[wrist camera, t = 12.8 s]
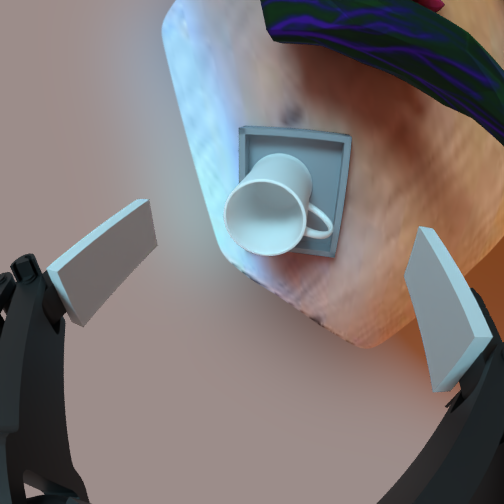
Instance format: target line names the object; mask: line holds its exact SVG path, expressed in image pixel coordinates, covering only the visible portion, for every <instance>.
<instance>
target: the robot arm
mask: <svg viewBox="0 0 504 504" xmlns="http://www.w3.org/2000/svg"><path fill="white" fill-rule="evenodd" d="M156 246H157V240H156V235H155V230H154V224H153V219H152V213H151V208H150V201H149V199H137V200H135V201H134V202H133V203H131V204H130V205H128V206H127V207H125V208H124V209H122V210H121V211H119V212H118V213H117V214H115V215H114V216H112V217H111V218H110V219H108V220H107V221H105V222H104V223H103V224H101V225H100V226H99V227H97V228H96V229H95V230H93V231H92V232H91V233H89V234H88V235H87V236H85V237H84V238H83V239H81V240H80V241H79V242H78V243H76V244H75V245H74V246H73V247H71V248H70V249H69V250H68V251H67V252H65V253H64V254H63V255H62V256H60V257H59V258H58V259H57V260H56V261H54V262H53V263H52V264H51V265H50V266H49V267H48V268H47V270H46V271H45V272H44V273H43V274H42V273H41V270H40V268H39V265H38V263H37V260H36V258H35V256H34V255H33V254H26V255H23V256H21V257H19V258H18V259H17V260H15V261H14V262H13V263H12V264H11V266H10V267H11V270H12V272H13V274H14V276H15V278H16V280H17V282H15V280H14V278H13V275H12V274H11V273H10V272H7V273H2V274H0V313H1V311H2V310H4V312H5V313H6V315H7V316H6V320H5V321H4V319H3V317H2V316H1V314H0V504H90V503H89V499H88V496H87V492H86V488H85V485H84V483H83V481H82V479H81V477H80V476H79V474H78V473H77V472H76V470H75V469H74V467H73V464H72V461H71V455H70V449H69V442H68V434H67V426H66V416H65V401H64V377H63V376H64V375H63V374H64V368H63V367H64V338H65V337H64V336H65V319H64V318H63V315H64V314H65V313H66V312H67V313H68V315H69V317H70V319H71V321H72V322H73V323H75V324H77V325H80V326H82V327H84V326H85V325H86V323H87V322H88V321H89V320H90V319H91V317H92V316H93V315H94V314H95V313H96V311H97V310H98V309H99V308H100V307H101V306H102V305H103V304H104V302H105V301H106V300H107V299H108V298H109V297H110V295H112V293H113V292H114V291H115V290H116V289H117V288H118V287H119V286H120V285H121V283H122V282H123V281H124V280H125V279H126V278H127V277H128V276H129V275H130V274H131V273H132V272H133V270H134V269H135V268H136V267H137V266H138V265H139V264H140V263H141V262H142V261H143V260H144V259H145V258H146V257H147V256H148V255H149V254H150V253H151V252H152V251H153V250H154V249H155V248H156ZM404 278H405V281H406V284H407V287H408V290H409V294H410V297H411V300H412V303H413V307H414V310H415V314H416V317H417V321H418V325H419V329H420V332H421V336H422V341H423V345H424V349H425V354H426V358H427V363H428V368H429V373H430V378H431V384H432V390H433V392H445V391H451V390H452V389H453V387H454V386H455V385H456V384H457V383H458V382H459V383H460V387H461V390H460V391H459V392H458V393H457V394H456V395H455V397H454V398H453V399H452V400H451V401H450V402H449V403H448V404H447V405H446V406H445V407H447V408H448V407H449V406H450V407H449V409H448V411H447V412H446V414H445V416H444V417H443V419H442V421H441V422H440V424H439V425H438V427H437V429H436V431H435V432H434V433H433V435H432V436H431V438H430V439H429V441H428V442H427V444H426V445H425V447H424V448H423V449H422V451H421V452H420V454H419V455H418V456H417V458H416V459H415V460H414V462H413V463H412V464H411V465H410V467H409V468H408V469H407V470H406V472H405V473H404V474H403V475H402V476H401V478H400V479H399V480H398V481H397V482H396V483H395V484H394V486H393V487H392V488H391V489H390V490H389V491H388V492H387V493H386V494H385V495H384V496H383V498H382V499H381V500H380V501H379V502H378V503H377V504H504V342H502V340H501V338H500V335H499V333H498V331H497V329H496V326H495V324H494V322H493V320H492V318H491V316H489V312H488V310H487V308H486V306H485V304H484V302H483V300H482V298H481V296H480V295H479V294H478V293H477V292H476V291H475V290H474V289H473V288H469V286H468V284H467V282H466V281H465V279H464V277H463V275H462V274H461V272H460V270H459V268H458V267H457V265H456V263H455V262H454V260H453V258H452V257H451V255H450V254H449V252H448V250H447V249H446V247H445V246H444V244H443V243H442V241H441V240H440V238H439V237H438V235H437V234H436V232H435V231H434V229H433V228H427V227H421V226H419V228H418V232H417V235H416V239H415V242H414V246H413V249H412V252H411V256H410V259H409V262H408V265H407V268H406V271H405V274H404ZM24 483H26V484H28V485H30V486H32V487H34V488H37V489H39V490H41V491H42V492H43V493H44V494H45V495H40V496H35V497H31V498H26V495H25V489H24Z"/></svg>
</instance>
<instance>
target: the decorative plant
mask: <svg viewBox="0 0 504 504" xmlns="http://www.w3.org/2000/svg"><path fill="white" fill-rule="evenodd" d="M260 1H261V6H262V10H263V15H264V20H265V25H266V30H267V31H268V33H269V35H270V36H271V38H272V39H273V41H276V42H279V43H290V44H308V45H320V46H324V47H326V48H329V49H331V50H334V51H336V52H339V53H341V54H343V55H346V56H348V57H350V58H352V59H354V60H357V61H359V62H361V63H363V64H366V65H369V66H372V67H374V68H377V69H380V70H382V71H385V72H387V73H390V74H392V75H394V76H396V77H398V78H400V79H402V80H403V81H405V82H407V83H409V84H411V85H412V86H414V87H416V88H417V89H419V90H421V91H422V92H424V93H426V94H427V95H429V96H431V97H432V98H434V99H435V100H437V101H438V102H440V103H441V104H443V105H445V106H447V107H449V108H452V109H454V110H456V111H458V112H460V113H462V114H464V115H467V116H469V117H471V118H472V119H474V120H475V121H476V122H477V123H479V124H480V125H481V126H482V127H483V128H484V129H486V130H487V131H488V132H489V133H490V134H491V135H492V136H493V137H495V138H496V139H497V140H498V141H499V142H500V143H501V144H502V145H503V146H504V70H503V69H502V68H501V67H500V66H499V64H498V63H497V62H496V61H495V60H494V59H493V58H492V56H491V55H490V54H489V53H488V52H487V51H486V50H485V49H484V48H483V47H482V46H481V45H480V44H479V43H478V42H477V41H476V40H475V39H474V38H473V37H472V36H471V35H470V34H469V33H468V32H466V31H465V30H463V29H462V28H460V27H459V26H457V25H456V24H454V23H452V22H451V21H449V20H447V19H446V18H444V17H442V16H441V15H439V14H437V13H436V12H438V11H439V10H440V9H441V8H442V7H443V6H444V5H445V4H444V3H443V2H442V1H441V0H260Z"/></svg>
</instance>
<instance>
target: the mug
mask: <svg viewBox="0 0 504 504" xmlns="http://www.w3.org/2000/svg"><path fill="white" fill-rule="evenodd" d="M311 192H312V178H311V175H310V173H309V171H308V169H307V167H306V166H305V165H304V164H303V163H302V162H301V161H300V160H299V159H297V158H295V157H293V156H291V155H288V154H283V153H275V154H270V155H267V156H265V157H263V158H262V159H260V160H259V161H258V162H257V163H256V164H255V165H254V167H253V168H252V170H251V172H250V173H249V174H248V175H247V176H246V177H245V178H244V179H243V180H242V181H241V182H240V183H239V184H238V185H237V187H236V188H235V189H234V190H233V191H232V192H231V193H230V195H229V196H228V198H227V200H226V203H225V206H224V214H223V215H224V223H225V226H226V229H227V231H228V233H229V235H230V236H231V238H232V239H233V240H234V241H235V242H236V243H237V244H238V245H239V246H240V247H242V248H243V249H245V250H247V251H249V252H251V253H253V254H257V255H261V256H275V255H280V254H283V253H285V252H287V251H289V250H291V249H292V248H294V247H295V246H296V245H297V244H298V243H299V241H300V240H301V238H302V237H303V236H307V237H311V238H316V239H325V238H328V237H329V236H330V235H331V234H332V232H333V224H332V222H331V220H330V219H329V218H328V216H327V215H326V214H325V213H323V212H322V211H321V210H320V209H318V208H317V207H316V206H314V205H313V204H311V203H310V202H309V198H310V195H311ZM308 210H309V211H311V212H313V213H314V214H316V215H317V216H318V217H319V218H320V219H322V220H323V222H324V223H325V224H326V225H327V227H328V231H317V230H313V229H311V228H309V227H307V226H306V223H307V215H308Z"/></svg>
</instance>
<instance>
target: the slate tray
mask: <svg viewBox="0 0 504 504" xmlns="http://www.w3.org/2000/svg"><path fill="white" fill-rule="evenodd" d="M351 140H352V137H351V136H350V135H348V134H341V133H334V132H326V131H317V130H307V129H295V128H282V127H263V126H243V127H240V128H239V183H240V182H241V181H242V180H243V179H244V178H245V177H246V176H247V175H248V174H249V173H250V172H251V170H252V168H253V167H254V165H255V164H256V163H257V162H258V161H259V160H260V159H262V158H263V157H265V156H267V155H270V154H275V153H283V154H288V155H291V156H293V157H295V158H297V159H299V160H300V161H301V162H302V163H303V164H304V165H305V166H306V167H307V169H308V171H309V173H310V175H311V178H312V192H311V195H310V198H309V202H310V203H311V204H313V205H314V206H316V207H317V208H318V209H320V210H321V211H322V212H323V213H325V214H326V215H327V216H328V218H329V219H330V220H331V222H332V224H333V232H332V234H331V235H330V236H329V237H328V238H325V239H316V238H311V237H307V236H303V237H302V238H301V240H300V241H299V243H298V244H297V245H296V246H295V247H294V248H292V249H291V250H289V251H287V252H295V253H302V254H310V255H318V256H326V257H334V258H335V253H336V247H337V242H338V236H339V231H340V225H341V219H342V212H343V206H344V199H345V192H346V185H347V177H348V169H349V160H350V151H351ZM306 226H307V227H309V228H311V229H313V230H317V231H328V227H327V225H326V224H325V223H324V222H323V220H322V219H320V218H319V217H318V216H317V215H316V214H314V213H313V212H311V211H309V210H308V215H307V223H306Z"/></svg>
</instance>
